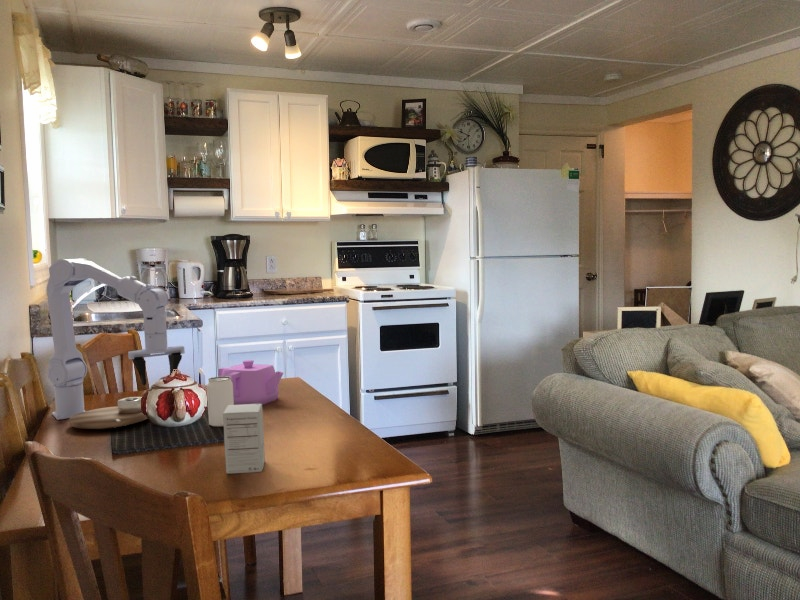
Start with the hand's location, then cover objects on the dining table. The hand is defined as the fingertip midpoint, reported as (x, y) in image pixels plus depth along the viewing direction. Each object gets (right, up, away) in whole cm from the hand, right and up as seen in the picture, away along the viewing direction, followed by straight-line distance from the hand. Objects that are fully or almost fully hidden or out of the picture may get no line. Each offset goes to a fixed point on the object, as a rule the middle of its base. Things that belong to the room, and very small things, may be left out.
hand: (158, 382), depth 194 cm
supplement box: (+34, -12, -47) cm, 59 cm away
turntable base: (-11, -10, -6) cm, 16 cm away
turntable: (-11, -9, -6) cm, 15 cm away
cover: (-6, -7, -3) cm, 10 cm away
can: (+20, -10, -9) cm, 24 cm away
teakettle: (+22, -8, +17) cm, 29 cm away
